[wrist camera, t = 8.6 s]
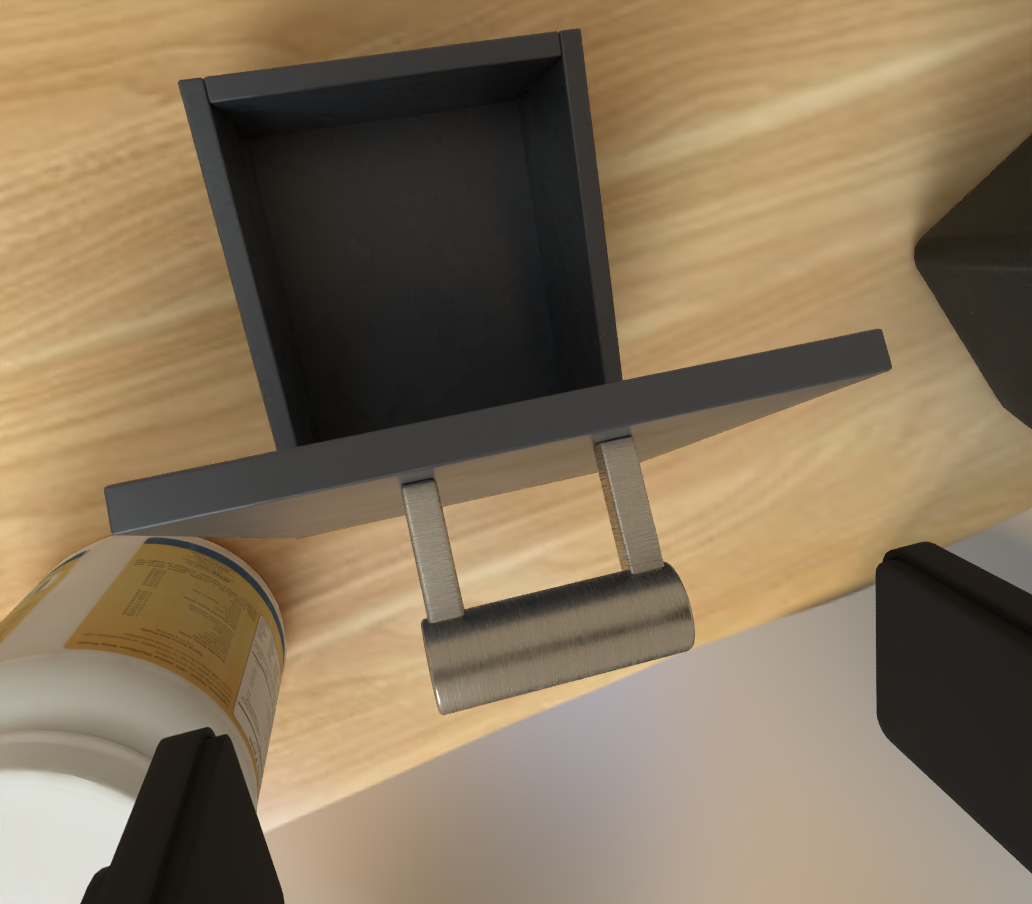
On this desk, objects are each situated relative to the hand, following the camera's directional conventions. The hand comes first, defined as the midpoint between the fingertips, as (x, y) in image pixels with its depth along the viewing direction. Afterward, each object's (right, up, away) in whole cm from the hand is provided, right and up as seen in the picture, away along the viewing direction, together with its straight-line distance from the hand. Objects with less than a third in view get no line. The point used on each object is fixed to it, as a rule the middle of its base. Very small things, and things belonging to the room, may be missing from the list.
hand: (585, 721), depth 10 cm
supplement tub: (-19, -5, +27) cm, 33 cm away
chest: (-6, +12, +25) cm, 28 cm away
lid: (-2, +4, +10) cm, 11 cm away
